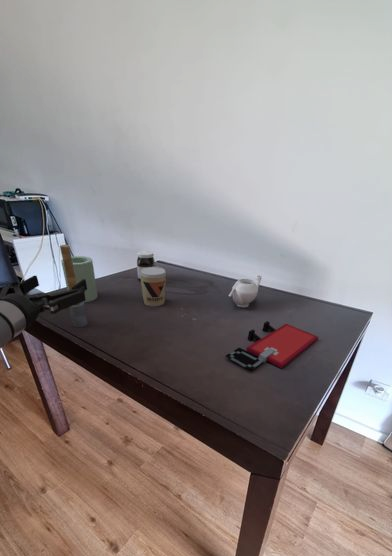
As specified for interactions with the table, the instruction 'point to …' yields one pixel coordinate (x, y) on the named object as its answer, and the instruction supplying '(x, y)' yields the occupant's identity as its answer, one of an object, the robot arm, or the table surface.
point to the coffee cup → (153, 285)
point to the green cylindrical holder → (84, 275)
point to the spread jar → (145, 261)
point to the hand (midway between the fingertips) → (60, 282)
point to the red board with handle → (273, 346)
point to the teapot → (245, 291)
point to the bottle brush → (79, 309)
